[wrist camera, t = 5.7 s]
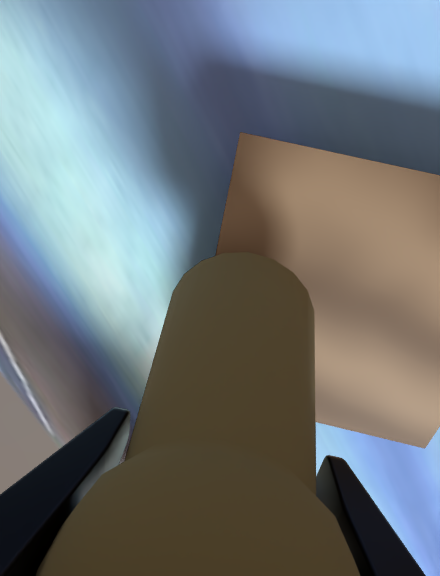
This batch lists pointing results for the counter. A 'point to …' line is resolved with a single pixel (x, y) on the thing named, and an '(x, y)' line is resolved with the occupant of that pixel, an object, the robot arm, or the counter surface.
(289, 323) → the cork
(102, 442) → the robot arm
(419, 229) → the shelf board
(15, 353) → the counter surface
